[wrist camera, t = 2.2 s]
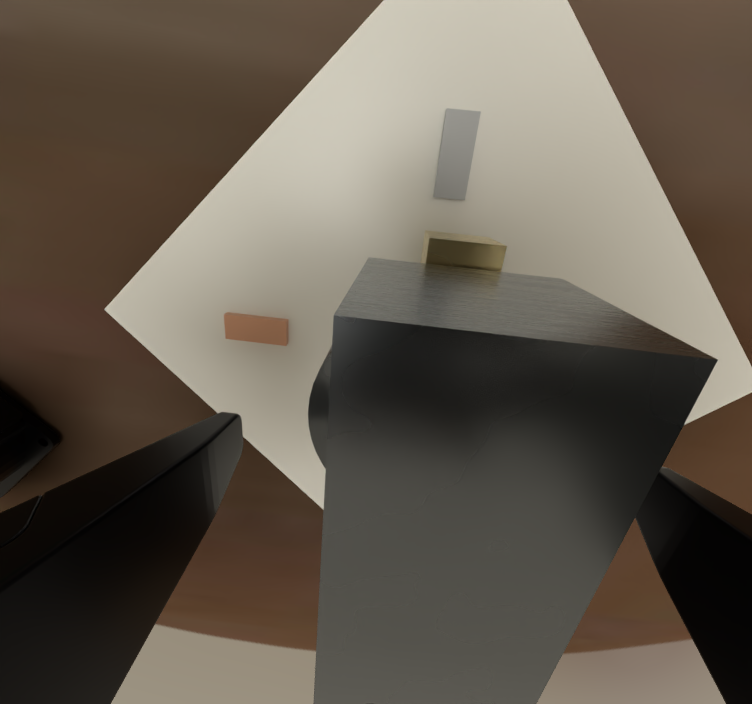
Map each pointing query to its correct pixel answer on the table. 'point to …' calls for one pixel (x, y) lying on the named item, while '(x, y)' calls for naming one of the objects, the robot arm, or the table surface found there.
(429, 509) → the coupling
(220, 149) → the table surface
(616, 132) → the post plate
